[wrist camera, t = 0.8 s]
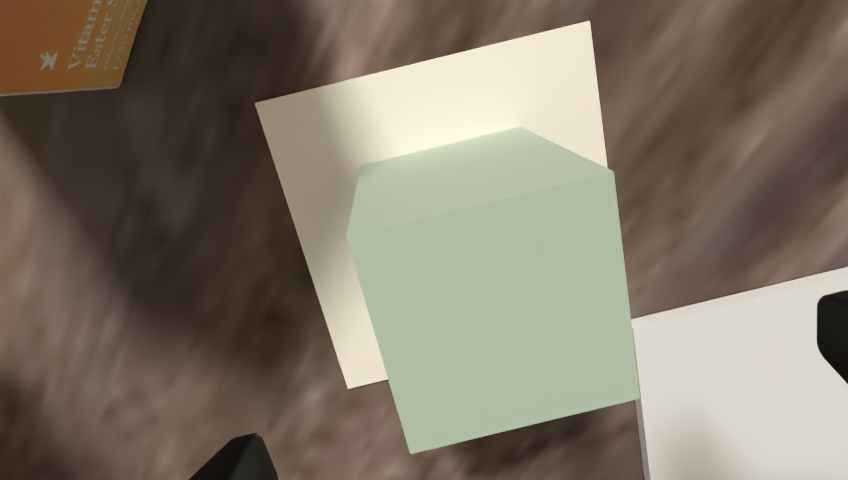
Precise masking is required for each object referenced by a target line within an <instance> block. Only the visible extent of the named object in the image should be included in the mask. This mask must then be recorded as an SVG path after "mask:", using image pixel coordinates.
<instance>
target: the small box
mask: <svg viewBox="0 0 848 480" xmlns="http://www.w3.org/2000/svg"><path fill="white" fill-rule="evenodd" d="M146 3H147V0H0V96H12V95H27V94H43V93H58V92H71V91H83V90H100V89H115V88H118V87H119V86H120V84H121V82H122V78H123V75H124V71H125V68H126V65H127V62H128V59H129V56H130V52H131V48H132V45H133V42H134V39H135V36H136V32H137V29H138V26H139V23H140V20H141V18H142V15H143V12H144V9H145V6H146Z"/></svg>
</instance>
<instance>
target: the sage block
mask: <svg viewBox="0 0 848 480" xmlns="http://www.w3.org/2000/svg"><path fill="white" fill-rule="evenodd" d="M346 238H347V241H348V245H349V248H350V252H351V255H352V258H353V262H354V265H355V269H356V272H357V275H358V279H359V282H360V285H361V289H362V292H363V296H364V299H365V302H366V306H367V309H368V312H369V316H370V319H371V323H372V326H373V329H374V333H375V336H376V340H377V343H378V346H379V350H380V353H381V356H382V360H383V363H384V367H385V370H386V373H387V377H388V380H389V383H390V387H391V390H392V394H393V397H394V400H395V404H396V407H397V411H398V414H399V417H400V421H401V424H402V427H403V431H404V434H405V438H406V441H407V444H408V448H409V451H410V454H413V453H417V452H421V451H426V450H430V449H434V448H438V447H442V446H446V445H450V444H454V443H459V442H463V441H467V440H471V439H475V438H479V437H483V436H488V435H492V434H496V433H500V432H504V431H508V430H512V429H516V428H521V427H525V426H529V425H533V424H537V423H541V422H545V421H549V420H554V419H558V418H562V417H566V416H570V415H574V414H578V413H583V412H587V411H591V410H595V409H599V408H603V407H607V406H611V405H616V404H620V403H624V402H628V401H632V400H636V399H640V393H639V384H638V376H637V367H636V358H635V350H634V341H633V333H632V324H631V316H630V307H629V299H628V290H627V281H626V273H625V264H624V256H623V247H622V239H621V230H620V222H619V213H618V204H617V196H616V187H615V179H614V171H612V170H610V169H608V168H605V167H603V166H601V165H599V164H597V163H595V162H593V161H591V160H589V159H587V158H585V157H583V156H581V155H578V154H576V153H574V152H572V151H570V150H568V149H566V148H564V147H562V146H560V145H558V144H556V143H553V142H551V141H549V140H547V139H545V138H543V137H541V136H539V135H537V134H535V133H533V132H531V131H528V130H526V129H524V128H522V127H517V128H513V129H509V130H505V131H501V132H497V133H493V134H488V135H484V136H480V137H476V138H472V139H468V140H464V141H460V142H456V143H452V144H448V145H443V146H439V147H435V148H431V149H427V150H423V151H419V152H415V153H411V154H407V155H403V156H399V157H394V158H390V159H386V160H382V161H378V162H374V163H370V164H366V165H362V166H361V168H360V172H359V177H358V182H357V187H356V192H355V196H354V201H353V206H352V211H351V216H350V220H349V225H348V230H347V235H346Z"/></svg>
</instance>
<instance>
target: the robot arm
mask: <svg viewBox="0 0 848 480" xmlns="http://www.w3.org/2000/svg"><path fill="white" fill-rule="evenodd" d="M817 345H818V349H819V351H820V353H821V355H822V356H823V358H824V359H825V360H826V361H827V362H828V363H829V364H830V365H831V366H832V368H833V369H834V370H835V371H836V372H837V373H838V374H839V375H840V376H841V377H842V378H843V379H844V381H845V382H846V383H847V384H848V290H844V291H840V292H836V293H832V294H828V295H824V296H822V297H821V298H820V299H819V301H818V303H817ZM189 480H278V476H277V473H276V470H275V467H274V465H273V462H272V460H271V458H270V455H269V453H268V450H267V448H266V445H265V443H264V440H263V438H262V437H261V436H260V435H259V434H257V433H252V434H248V435H244V436H240V437H236V438H233V439H231V440H230V441H229V442H228V443H227V444H226V445H225V446H224V447H223V448H222V449H221V450H219V451H218V452H217V453H216V454H215V455H214V456H213V457H212V458H211V459H210V460H209V461H208V462H207V463H206V464H205V465H204V466H203V467H201V468H200V469H199V470H198V471H197V472H196V473H195V474H194V475H193V476H192V477H191V478H190V479H189Z"/></svg>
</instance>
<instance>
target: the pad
mask: <svg viewBox="0 0 848 480" xmlns="http://www.w3.org/2000/svg"><path fill="white" fill-rule="evenodd" d="M844 290H848V267H845V268H841V269H837V270H833V271H829V272H825V273H820V274H816V275H812V276H808V277H804V278H800V279H796V280H792V281H787V282H783V283H779V284H775V285H771V286H767V287H763V288H759V289H754V290H750V291H746V292H742V293H738V294H734V295H730V296H726V297H722V298H717V299H713V300H709V301H705V302H701V303H697V304H693V305H689V306H684V307H680V308H676V309H672V310H668V311H664V312H660V313H656V314H652V315H647V316H643V317H639V318H635V319H631V324H632V333H633V341H634V350H635V358H636V367H637V376H638V384H639V393H640V399H636V400H635V405H636V413H637V421H638V429H639V438H640V446H641V454H642V462H643V471H644V479H645V480H848V384H847V383H846V382H845V381H844V379H843V378H842V377H841V376H840V375H839V374H838V373H837V372H836V371H835V370H834V369H833V368H832V366H831V365H830V364H829V363H828V362H827V361H826V360H825V359H824V358H823V356H822V355H821V353H820V351H819V349H818V345H817V303H818V301H819V299H820V298H821V297H822V296H824V295H828V294H832V293H836V292H840V291H844Z"/></svg>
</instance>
